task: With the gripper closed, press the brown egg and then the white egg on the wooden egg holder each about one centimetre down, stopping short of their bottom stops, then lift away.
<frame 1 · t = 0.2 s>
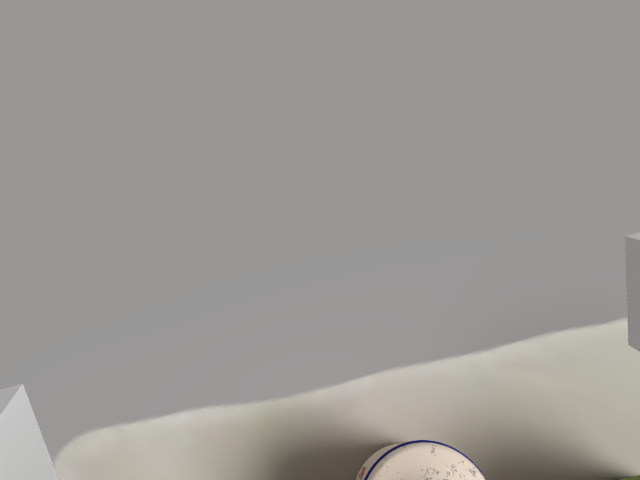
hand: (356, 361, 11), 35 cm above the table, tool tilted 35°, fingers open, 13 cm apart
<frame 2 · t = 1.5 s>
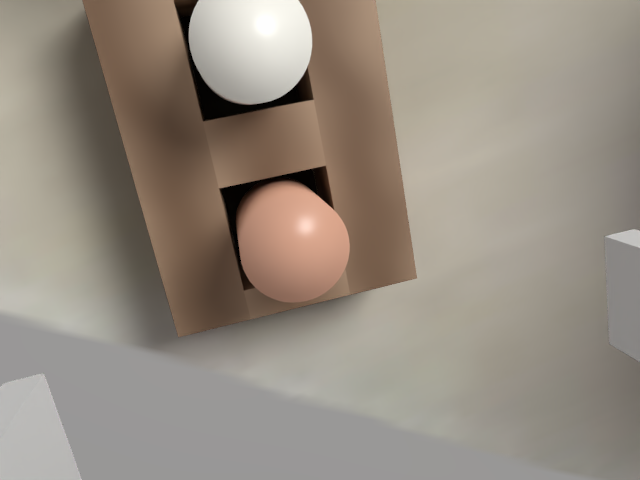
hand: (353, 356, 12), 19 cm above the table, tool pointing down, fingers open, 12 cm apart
brown egg: (286, 233, 24), point 6 cm above the table, slide at 0.0 cm
white egg: (247, 49, 22), point 6 cm above the table, slide at 0.0 cm
wooden egg holder: (259, 139, 28), on the table
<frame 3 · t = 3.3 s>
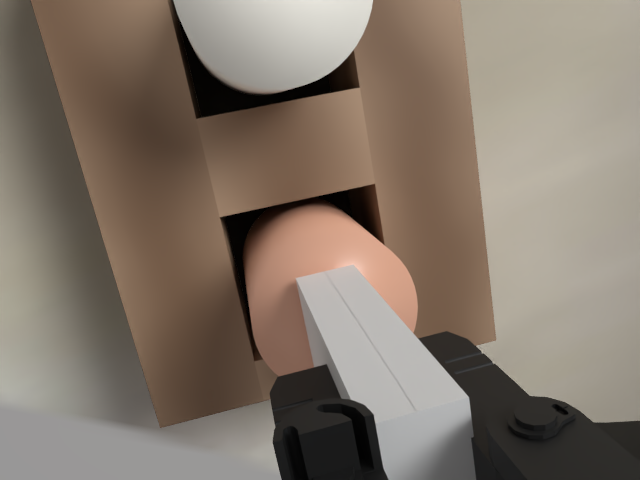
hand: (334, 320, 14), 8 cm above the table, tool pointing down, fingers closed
brown egg: (317, 281, 17), point 5 cm above the table, slide at 0.3 cm, touching gripper
white egg: (264, 8, 14), point 5 cm above the table, slide at 0.0 cm
wooden egg holder: (275, 143, 21), on the table
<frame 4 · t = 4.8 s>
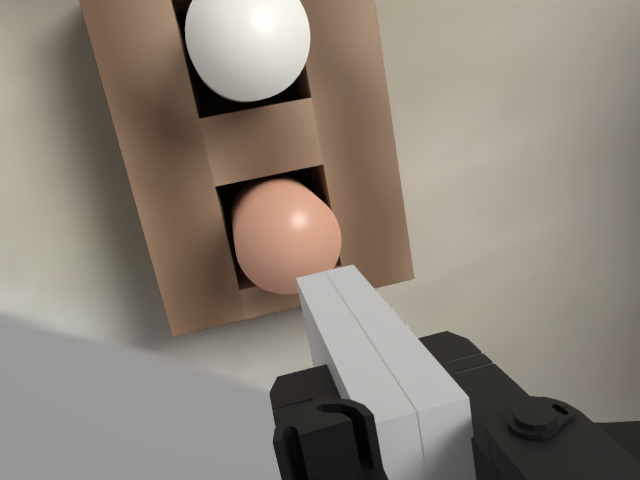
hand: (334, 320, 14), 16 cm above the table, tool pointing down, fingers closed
brown egg: (280, 228, 25), point 4 cm above the table, slide at 1.0 cm
white egg: (244, 45, 22), point 5 cm above the table, slide at 0.0 cm
wooden egg holder: (256, 137, 28), on the table
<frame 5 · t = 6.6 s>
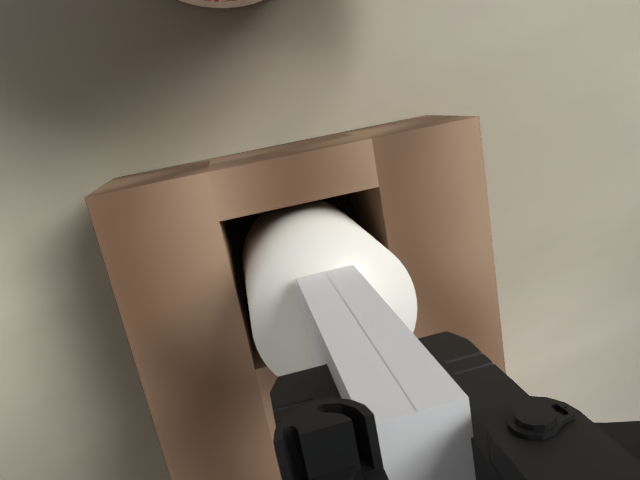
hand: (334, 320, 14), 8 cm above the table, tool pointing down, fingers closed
white egg: (316, 281, 17), point 5 cm above the table, slide at 0.8 cm, touching gripper
wooden egg holder: (315, 336, 22), on the table
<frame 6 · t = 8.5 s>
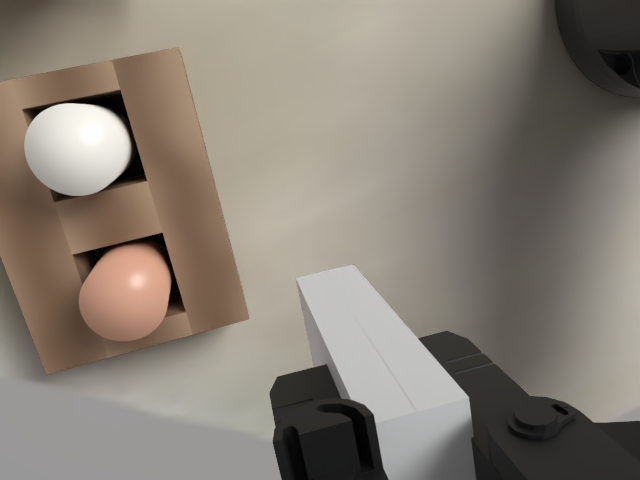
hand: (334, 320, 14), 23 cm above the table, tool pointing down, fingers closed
brown egg: (131, 284, 31), point 4 cm above the table, slide at 1.0 cm
white egg: (86, 146, 29), point 4 cm above the table, slide at 1.0 cm
wooden egg holder: (120, 204, 34), on the table
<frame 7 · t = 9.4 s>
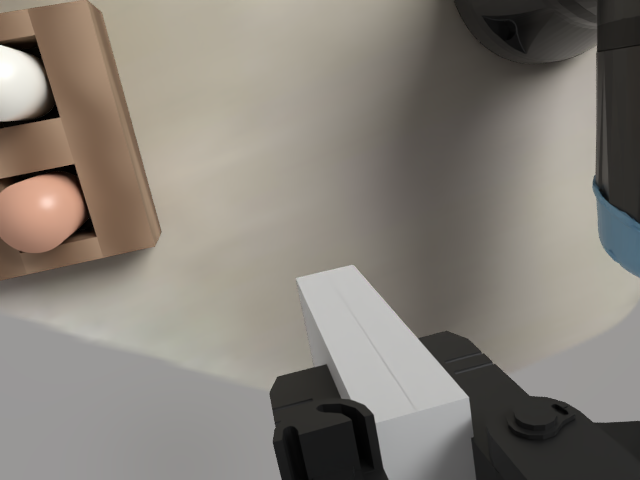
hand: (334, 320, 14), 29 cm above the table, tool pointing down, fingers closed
brown egg: (47, 209, 35), point 4 cm above the table, slide at 1.0 cm
white egg: (6, 84, 33), point 4 cm above the table, slide at 1.0 cm
wooden egg holder: (48, 144, 39), on the table
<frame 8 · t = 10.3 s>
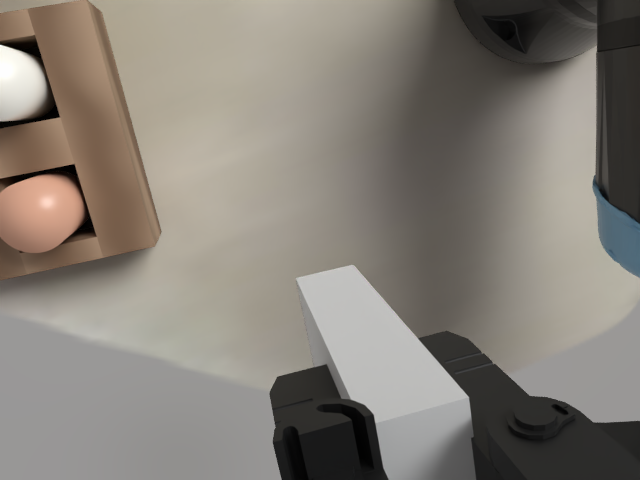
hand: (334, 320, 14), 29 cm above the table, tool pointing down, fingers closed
brown egg: (46, 209, 35), point 4 cm above the table, slide at 1.0 cm
white egg: (6, 84, 33), point 4 cm above the table, slide at 1.0 cm
wooden egg holder: (48, 144, 39), on the table
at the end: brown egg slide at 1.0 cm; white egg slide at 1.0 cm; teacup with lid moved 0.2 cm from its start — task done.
